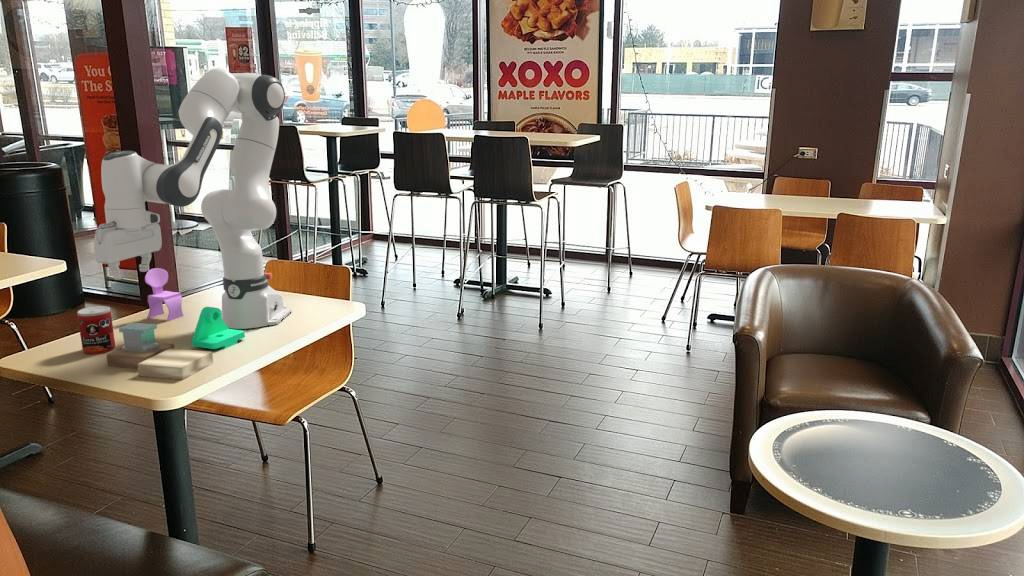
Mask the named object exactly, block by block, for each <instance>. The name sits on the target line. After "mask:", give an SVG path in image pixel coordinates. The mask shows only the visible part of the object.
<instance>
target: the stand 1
mask: <svg viewBox="0 0 1024 576" xmlns="http://www.w3.org/2000/svg"><path fill="white" fill-rule="evenodd" d="M158 343H159V347H158V348H156V349H154V350H152V351H150V352H147V353H138V352H125V351H122V349H121V347H120V348H117V349H116V350H112V351H111V352H108V353H107V354H106V353H105V354H106V361H107V366H108V367H114V368H115V367H116V368H126V369H127V368H129V369H138V364H139V363H141V362H143V361H145V360H147V359H149V358H151V357H153V356H155V355H158V354H160V353H162V352H164V351H166V350H168V349H175V344H174V343H166V342H158Z"/></svg>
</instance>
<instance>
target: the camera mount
mask: <svg viewBox="0 0 1024 576" xmlns="http://www.w3.org/2000/svg"><path fill="white" fill-rule="evenodd" d="M245 334H246V333H245V330H243V329H233V328H228V327H227V326H226V324H225V323H224V321H223V320H222V309H220V308H218V307H213V306H205V307H203V308H202V309H201V311H200V314H199V317H198V320H197V323H196V326H195V330H194V332H193V336H192V338H191V347H196V348H197V347H198V348H203V349H209V350H216V349H227V348H230V347H232V346H236V345H237V344H238V341H240V340H241V339H244V338H246V335H245Z"/></svg>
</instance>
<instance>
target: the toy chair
mask: <svg viewBox="0 0 1024 576" xmlns="http://www.w3.org/2000/svg"><path fill="white" fill-rule="evenodd" d="M168 281H169V273H168V271H167V270H165V269H163V268H159V267H156V268H155V267H154V268H151V269H149V271H146V274H145V276H144V282H145V284H147V285H148V286H150V287H151V288H152V293H153V294H152V293H151V294H149V295H147V303H148V306H149V309H148V310H149V311H148V314H147V317H146V319H147V320H149V319H151V318H154V317H157V316H162V315H164V314H165V312H164V308H163V303H164V304H165V305H166V307H167V309H168V314H167V318H166V322H170V321H172V320H173V321H174V320H176V318H177V319H180V318H181V317H182V316H183V317H184V312H183V309H182V307H183V306H182V302H183V301H182V300H183V297H182V295H181V292H179V291H178V292H177V291H175V292H174V291H170V290H164V286H165V285H166V284H167V283H168ZM179 317H180V318H179ZM183 317H182V318H183Z"/></svg>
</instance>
